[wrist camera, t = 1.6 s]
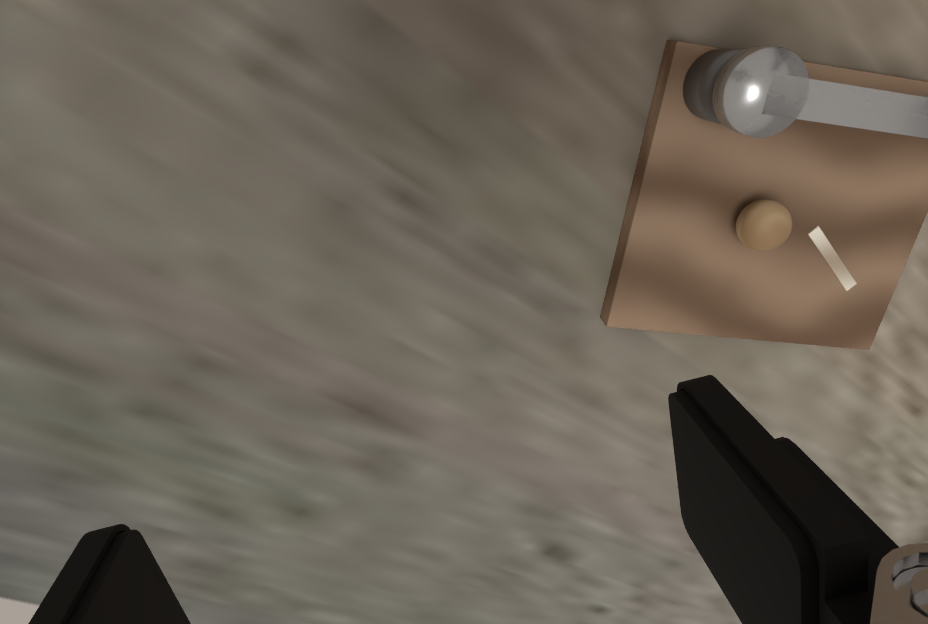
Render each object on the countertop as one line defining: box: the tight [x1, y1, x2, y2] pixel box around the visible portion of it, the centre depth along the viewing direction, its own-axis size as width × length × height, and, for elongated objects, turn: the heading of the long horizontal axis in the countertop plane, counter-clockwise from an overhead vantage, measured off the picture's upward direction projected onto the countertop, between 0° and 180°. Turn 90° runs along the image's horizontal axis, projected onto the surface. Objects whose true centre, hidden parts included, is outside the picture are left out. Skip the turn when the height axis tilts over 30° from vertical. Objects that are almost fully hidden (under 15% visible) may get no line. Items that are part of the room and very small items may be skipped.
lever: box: [712, 46, 928, 138], centre depth 32 cm, size 19×4×7 cm, turn 82°
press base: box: [600, 41, 928, 350], centre depth 41 cm, size 18×20×6 cm
